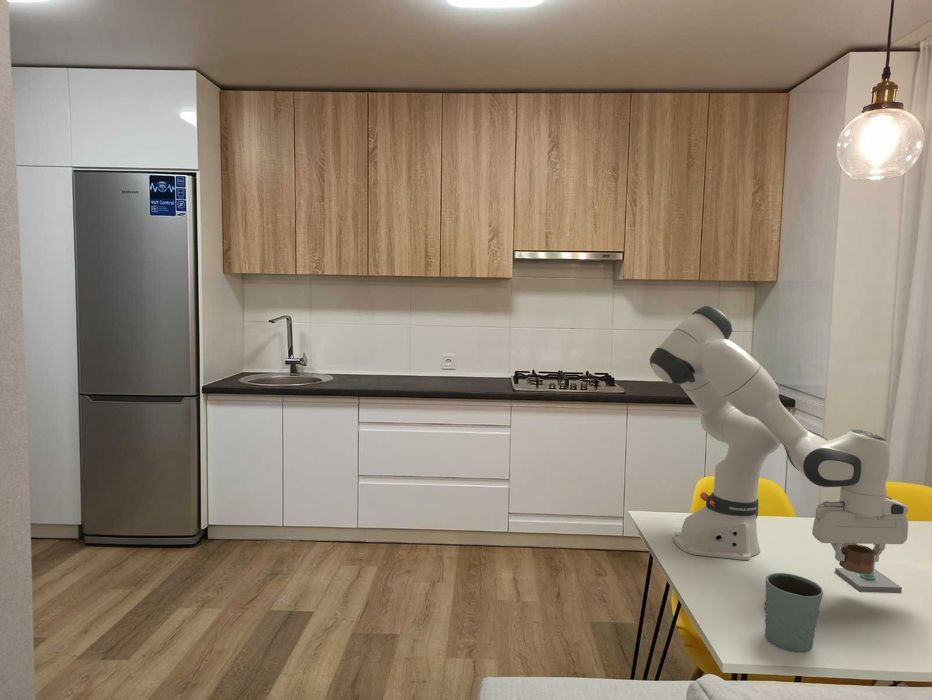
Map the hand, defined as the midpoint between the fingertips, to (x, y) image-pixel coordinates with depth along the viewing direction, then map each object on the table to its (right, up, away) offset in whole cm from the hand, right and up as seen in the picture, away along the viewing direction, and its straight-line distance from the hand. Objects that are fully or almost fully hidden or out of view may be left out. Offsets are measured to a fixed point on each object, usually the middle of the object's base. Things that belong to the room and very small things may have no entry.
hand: (856, 560), depth 145 cm
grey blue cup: (-24, -11, -18) cm, 32 cm away
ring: (0, -2, 0) cm, 2 cm away
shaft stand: (+9, -9, +10) cm, 16 cm away
